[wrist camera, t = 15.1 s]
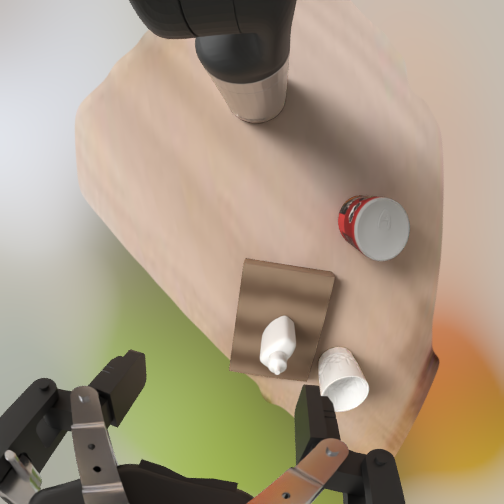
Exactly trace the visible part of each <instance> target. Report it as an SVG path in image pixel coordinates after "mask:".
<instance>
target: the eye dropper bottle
mask: <svg viewBox="0 0 504 504" xmlns="http://www.w3.org/2000/svg"><path fill="white" fill-rule="evenodd" d="M295 347H296V336H295V326H294V322H293V321H292V320H291V319H290V318H289V317H287V316H281V317H279V318H277V319H275V320H274V321H272V322H271V323H270V324H269V325H268V326H267V327H266V329H265V330H264V332H263V335H262V341H261V350H260V361H261V362H262V363H263V364H264V365H265V366H267V367H268V368H269V370H270V371H271V372H273V373H275V374H276V375H279V374H280V373H282V372H284V371H285V370H286V368H287V360H288V359H289V358H290V356H291V355H292V354H293V352H294V350H295Z"/></svg>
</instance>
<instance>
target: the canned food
mask: <svg viewBox="0 0 504 504" xmlns="http://www.w3.org/2000/svg"><path fill="white" fill-rule="evenodd" d="M338 225H339V229H340V232H341V234H342V236H343V237H344V238H345V240H346V241H348V242H349V243H350V244H351V245H353V246H354V247H355V248H356V249H358V250H359V251H360V252H361V253H363V254H364V255H365V256H367V257H368V258H371V259H373V260H376V261H387V260H390V259H392V258H394V257H396V256H397V255H398V254H399V253H400V252H401V251H402V250H403V249H404V247H405V245H406V243H407V241H408V238H409V233H410V224H409V219H408V215H407V213H406V211H405V210H404V208H403V207H402V206H401V205H400V204H399V203H398V202H396V201H394V200H392V199H390V198H386V197H377V196H362V195H359V196H355V197H352V198H350V199H349V200H348V201H346V203H345V204H344V205H343V206H342V208H341V210H340V213H339V218H338Z"/></svg>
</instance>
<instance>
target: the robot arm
mask: <svg viewBox="0 0 504 504" xmlns="http://www.w3.org/2000/svg"><path fill="white" fill-rule="evenodd" d="M129 1H130V3H131V5H132V6H133V8H134V10H135V11H136V13H137V15H138V16H139V18H140V19H141V20H142V22H143V23H144V24H145V25H146V26H147V28H148V29H149V30H151V31H152V32H153V33H154V34H156V35H157V36H159V37H162V38H166V39H187V38H196V40H195V48H196V53H197V56H198V58H199V60H200V61H201V63H202V65H203V66H204V68H205V69H206V71H207V72H208V74H209V76H210V77H211V79H212V80H213V82H214V83H215V85H216V87H217V88H218V90H219V91H220V93H221V95H222V96H223V98H224V99H225V101H226V103H227V104H228V106H229V108H230V109H231V111H232V112H233V113H234V114H235V116H237V117H238V118H240V119H241V120H244V121H246V122H251V123H261V122H266V121H268V120H271V119H272V118H274V117H276V116H277V115H278V114H279V113H280V112H281V110H282V109H283V107H284V104H285V99H286V91H287V80H288V68H289V54H290V34H291V26H292V20H293V15H294V10H295V5H296V1H297V0H129ZM145 382H146V363H145V354H144V353H141V352H137V351H134V350H129V351H128V352H127V353H126V355H125V356H124V357H122V356H118V357H116V358H114V359H112V360H111V361H110V362H109V363H108V364H107V366H105V367H104V369H103V370H102V371H101V372H100V373H99V374H98V375H97V376H96V377H95V379H94V380H93V381H92V382H91V383H90V384H89V385H88V386H79V387H76V388H74V389H73V390H72V391H66V390H61V389H57V387H56V384H55V382H54V381H53V380H51V379H48V378H41V379H38V380H36V381H34V382H33V383H32V384H31V385H30V386H29V387H28V388H27V389H26V390H25V391H24V393H23V394H22V395H21V396H20V397H19V398H18V399H17V400H16V401H15V402H14V403H13V404H12V405H11V406H10V407H9V408H8V409H7V410H6V412H5V413H4V414H3V415H2V416H1V417H0V497H1V498H2V499H3V500H4V501H5V502H7V503H8V504H311V503H312V502H313V501H314V500H315V499H316V498H317V496H318V495H319V494H320V493H321V492H322V491H323V490H324V489H330V490H333V491H338V492H342V493H343V503H344V504H405V500H404V495H403V491H402V487H401V482H400V478H399V474H398V470H397V466H396V463H395V459H394V457H393V455H392V454H391V453H390V452H388V451H386V450H383V449H375V450H372V451H370V452H369V453H368V454H367V455H366V454H361V453H356V452H353V451H350V450H349V449H348V447H347V445H346V444H345V443H344V442H342V441H341V439H340V434H339V429H338V424H337V419H336V415H335V412H334V411H335V410H334V405H333V403H332V401H331V400H330V399H329V397H328V396H321V394H320V388H319V386H315V385H303V387H302V390H301V393H300V396H299V399H298V402H297V405H296V409H295V442H296V467H294V468H293V467H291V468H289V469H288V470H287V471H286V472H285V473H284V474H282V475H281V476H280V477H279V478H278V479H277V480H275V481H274V482H273V483H272V484H271V485H269V486H268V487H267V488H266V489H264V490H263V491H262V492H261V493H260V494H258V495H257V496H256V497H253V496H251V495H250V494H248V493H246V492H244V491H242V490H239V489H237V484H238V483H235V482H229V481H223V480H218V479H204V478H186V477H184V476H182V475H180V474H178V473H176V472H174V471H172V470H170V469H168V468H166V467H164V466H161V465H158V464H155V463H151V462H148V461H145V460H141V462H140V464H139V465H138V464H124V465H119V466H118V463H117V461H116V457H115V454H114V451H113V448H112V444H111V441H110V437H109V433H108V430H107V429H108V427H109V426H110V425H113V426H115V427H118V426H119V425H120V423H121V422H122V420H123V418H124V417H125V415H126V414H127V412H128V411H129V409H130V407H131V406H132V404H133V403H134V401H135V400H136V398H137V397H138V395H139V394H140V392H141V391H142V389H143V387H144V386H145ZM67 431H72V437H73V444H74V450H75V456H76V461H77V465H78V471H79V475H80V479H77V480H75V481H71V482H68V483H65V484H61V485H57V486H54V487H49V488H45V489H42V490H41V488H40V486H41V483H42V479H41V476H40V474H39V473H40V472H41V470H42V469H43V467H44V466H45V464H46V463H47V461H48V460H49V458H50V457H51V455H52V453H53V452H54V451H55V449H56V448H57V446H58V445H59V443H60V442H61V440H62V439H63V437H64V436H65V434H66V433H67Z"/></svg>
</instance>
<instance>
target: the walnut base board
mask: <svg viewBox="0 0 504 504" xmlns="http://www.w3.org/2000/svg"><path fill="white" fill-rule="evenodd" d="M334 279H335V277H334V275H333V273H332V272H330V271H323V270H317V269H310V268H304V267H297V266H291V265H285V264H278V263H272V262H266V261H259V260H253V259H247V258H246V259H245V261H244V264H243V272H242V279H241V286H240V293H239V301H238V308H237V315H236V323H235V330H234V337H233V345H232V352H231V360H230V367H229V371H234V372H240V373H246V374H252V375H258V376H265V377H272V378H280V379H288V380H297V381H307V379H308V376H309V372H310V369H311V366H312V363H313V359H314V356H315V353H316V349H317V346H318V342H319V339H320V335H321V331H322V328H323V324H324V320H325V316H326V312H327V309H328V305H329V300H330V296H331V292H332V288H333V284H334ZM281 316H287V317H289V318H290V319H291V320H292V321H293V322H294V326H295V336H296V347H295V350H294V352H293V354H292V355H291V356H290V358H289V359H288V360H287V368H286V370H285V371H284V372H282V373H280V374H279V375H276V374H275V373H273V372H271V371H270V370H269V368H268V367H267V366H265V365H264V364H263V363H262V362H261V361H260V350H261V341H262V335H263V332H264V330H265V329H266V327H267V326H268V325H269V324H270V323H271V322H272V321H274V320H275V319H277V318H279V317H281Z"/></svg>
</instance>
